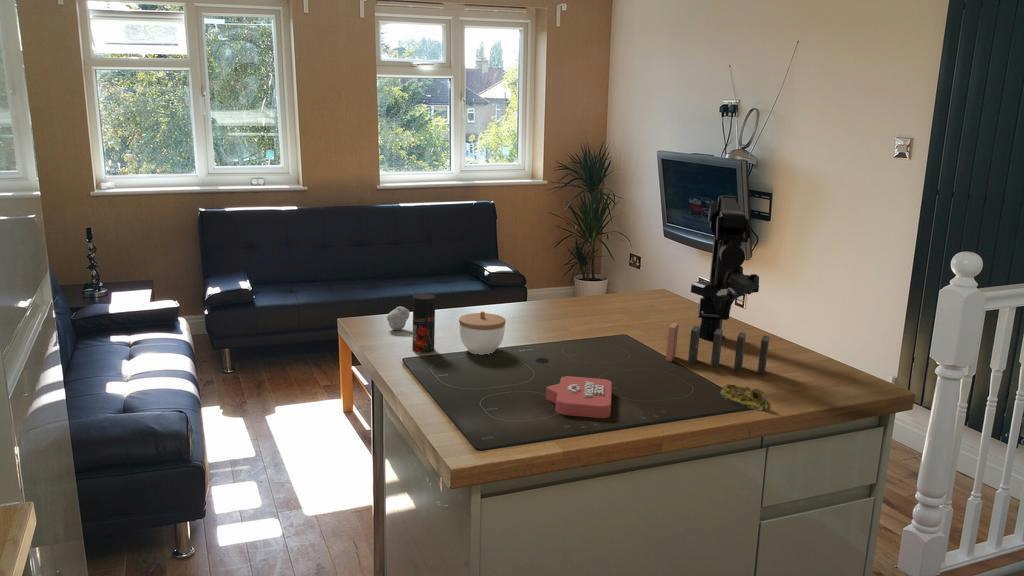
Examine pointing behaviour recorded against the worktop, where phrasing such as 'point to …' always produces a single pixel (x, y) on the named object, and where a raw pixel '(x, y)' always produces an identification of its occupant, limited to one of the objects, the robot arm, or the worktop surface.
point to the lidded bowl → (481, 332)
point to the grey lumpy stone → (398, 318)
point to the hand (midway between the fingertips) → (722, 318)
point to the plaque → (581, 396)
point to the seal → (745, 397)
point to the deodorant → (423, 323)
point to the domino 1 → (672, 341)
